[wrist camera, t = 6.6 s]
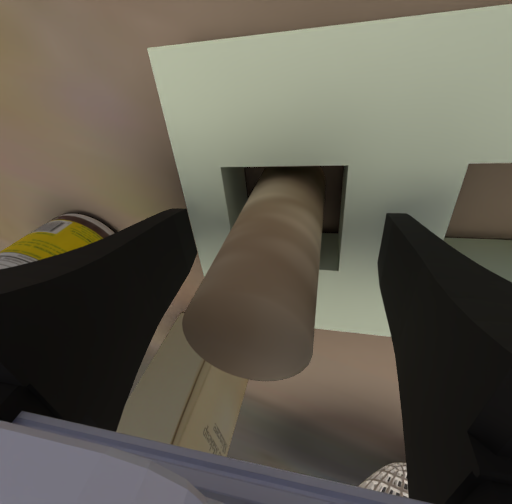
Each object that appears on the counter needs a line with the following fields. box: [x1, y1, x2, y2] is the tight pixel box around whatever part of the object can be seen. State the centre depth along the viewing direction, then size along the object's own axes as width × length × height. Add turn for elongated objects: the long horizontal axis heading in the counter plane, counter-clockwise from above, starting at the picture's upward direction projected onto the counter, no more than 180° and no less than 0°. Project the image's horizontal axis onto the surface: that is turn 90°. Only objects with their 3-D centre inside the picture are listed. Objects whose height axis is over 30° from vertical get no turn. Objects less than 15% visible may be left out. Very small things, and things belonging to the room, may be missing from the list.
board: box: [147, 4, 512, 337], centre depth 12 cm, size 16×12×3 cm
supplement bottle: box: [0, 214, 114, 269], centre depth 15 cm, size 6×6×10 cm
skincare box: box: [116, 313, 248, 457], centre depth 17 cm, size 6×4×12 cm
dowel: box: [182, 166, 326, 381], centre depth 10 cm, size 3×3×9 cm
